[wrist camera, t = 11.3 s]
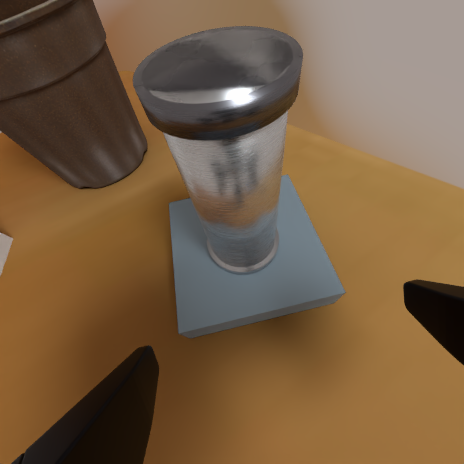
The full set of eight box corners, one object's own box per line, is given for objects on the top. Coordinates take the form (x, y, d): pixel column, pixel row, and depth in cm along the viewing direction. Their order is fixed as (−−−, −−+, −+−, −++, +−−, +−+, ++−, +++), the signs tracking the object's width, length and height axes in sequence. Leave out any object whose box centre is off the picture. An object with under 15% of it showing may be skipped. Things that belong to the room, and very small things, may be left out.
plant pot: (82, 227, 26) (-125, 64, 12) (29, 169, 32) (-142, 24, 19) (185, 147, 31) (123, -29, 17) (121, 112, 38) (41, -35, 24)
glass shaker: (293, 252, 18) (343, 61, 7) (228, 288, 17) (163, 136, 6) (255, 203, 21) (246, 15, 10) (198, 232, 20) (117, 60, 9)
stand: (333, 303, 18) (345, 292, 16) (190, 338, 18) (178, 333, 16) (285, 194, 25) (287, 174, 22) (178, 220, 24) (168, 203, 22)
